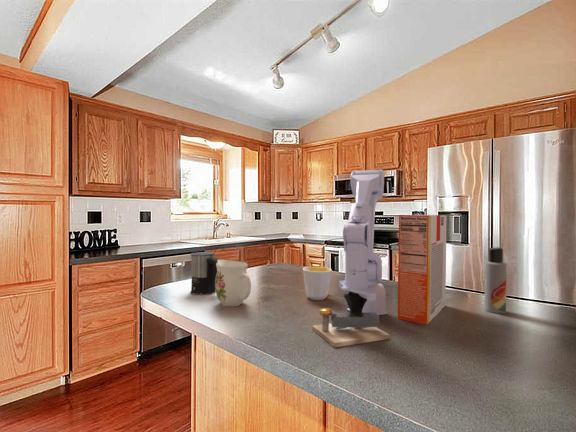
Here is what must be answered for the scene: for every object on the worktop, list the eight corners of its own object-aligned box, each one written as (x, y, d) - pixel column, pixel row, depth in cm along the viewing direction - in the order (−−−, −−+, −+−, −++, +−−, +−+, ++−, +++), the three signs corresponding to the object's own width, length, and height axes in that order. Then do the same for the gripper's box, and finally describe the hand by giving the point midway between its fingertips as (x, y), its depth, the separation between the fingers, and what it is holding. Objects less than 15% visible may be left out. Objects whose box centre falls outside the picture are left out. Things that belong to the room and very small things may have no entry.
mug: (322, 303, 109) (322, 272, 108) (297, 298, 115) (297, 269, 114) (340, 295, 120) (341, 266, 120) (316, 291, 126) (317, 264, 125)
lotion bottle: (509, 314, 99) (510, 248, 98) (488, 313, 100) (489, 248, 100) (500, 308, 104) (501, 246, 104) (481, 307, 105) (482, 246, 105)
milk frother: (185, 293, 120) (185, 253, 120) (207, 284, 136) (208, 249, 135) (219, 297, 116) (219, 255, 116) (238, 287, 131) (239, 250, 131)
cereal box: (419, 301, 112) (421, 214, 112) (445, 305, 108) (446, 215, 107) (397, 318, 94) (399, 215, 94) (427, 324, 89) (428, 215, 89)
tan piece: (361, 322, 90) (361, 304, 90) (389, 338, 79) (389, 318, 79) (312, 329, 85) (312, 310, 85) (334, 347, 74) (334, 325, 74)
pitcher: (234, 314, 97) (235, 268, 97) (204, 301, 110) (204, 261, 110) (263, 306, 104) (263, 264, 104) (232, 296, 117) (232, 258, 117)
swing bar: (320, 327, 79) (320, 311, 79) (318, 322, 83) (318, 307, 83) (379, 327, 80) (379, 311, 80) (374, 322, 83) (374, 307, 83)
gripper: (329, 265, 89) (329, 314, 90) (358, 275, 76) (358, 333, 76) (351, 264, 92) (351, 311, 92) (383, 273, 78) (383, 329, 78)
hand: (356, 321), depth 84 cm, fingers closed, pressing on swing bar
